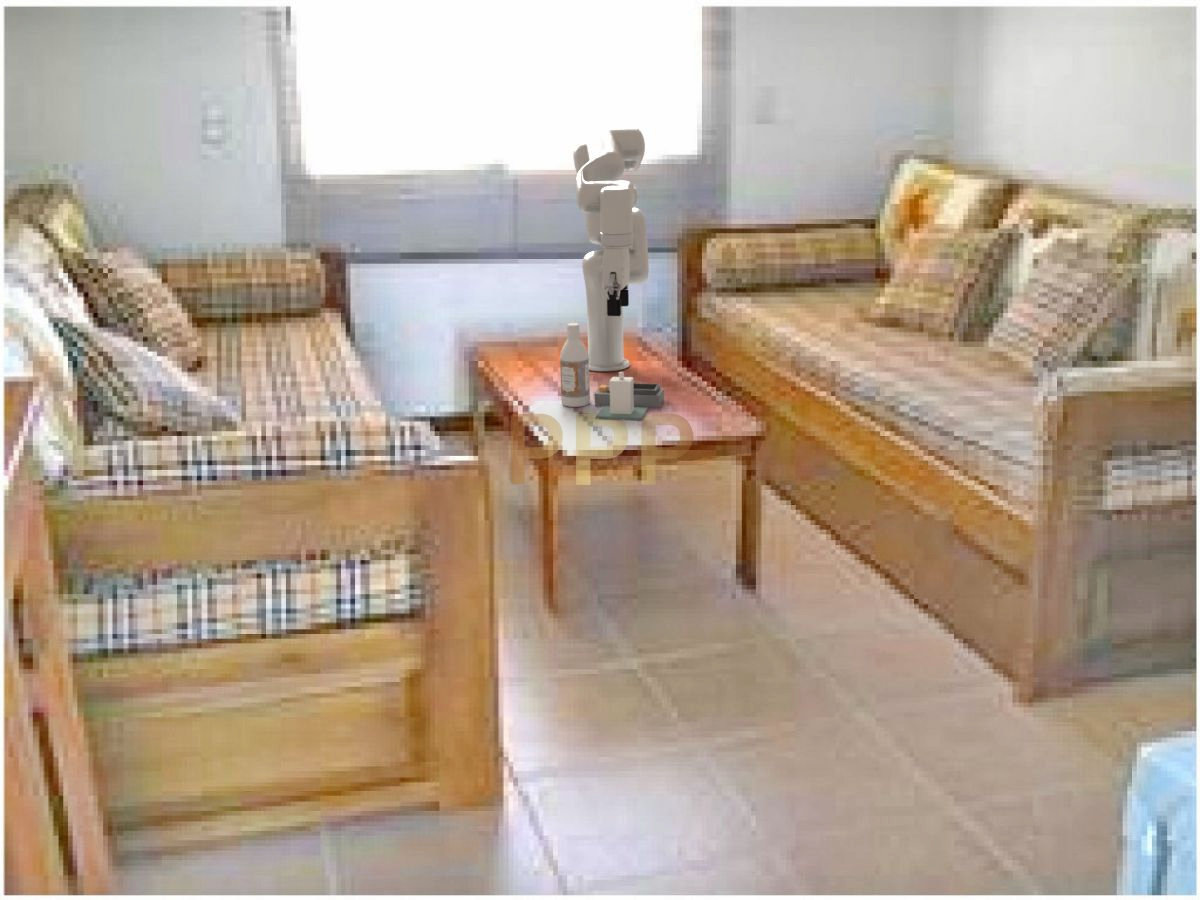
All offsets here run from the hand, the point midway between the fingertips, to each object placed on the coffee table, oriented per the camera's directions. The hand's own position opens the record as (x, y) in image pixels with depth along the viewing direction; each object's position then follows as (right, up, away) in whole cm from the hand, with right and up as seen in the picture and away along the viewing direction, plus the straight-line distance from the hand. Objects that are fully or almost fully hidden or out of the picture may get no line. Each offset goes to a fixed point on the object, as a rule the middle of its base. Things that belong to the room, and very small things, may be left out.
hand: (618, 310), depth 330 cm
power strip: (+3, -22, +9) cm, 24 cm away
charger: (+1, -24, 0) cm, 24 cm away
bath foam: (-10, -22, +10) cm, 26 cm away
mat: (+1, -25, 0) cm, 25 cm away
